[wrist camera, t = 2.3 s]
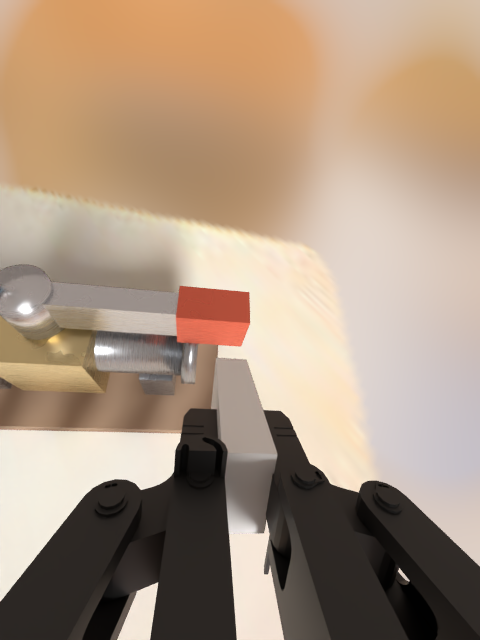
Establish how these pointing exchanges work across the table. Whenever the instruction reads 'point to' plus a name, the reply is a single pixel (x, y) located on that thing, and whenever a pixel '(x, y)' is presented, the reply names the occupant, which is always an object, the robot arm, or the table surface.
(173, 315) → the valve lever
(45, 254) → the table surface
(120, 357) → the pipe and valve body
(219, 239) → the table surface
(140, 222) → the table surface
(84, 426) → the walnut base board
